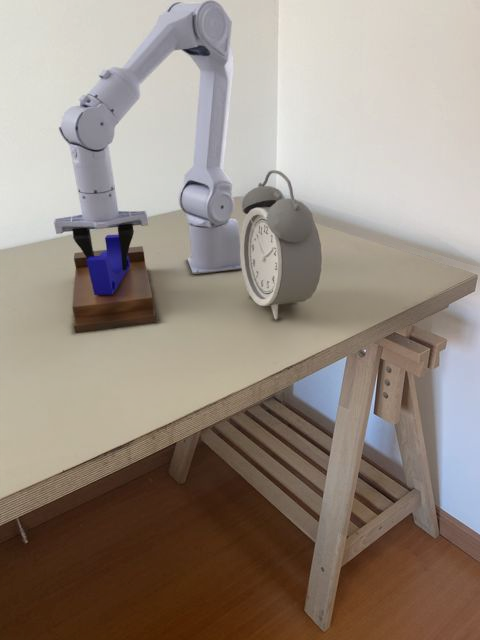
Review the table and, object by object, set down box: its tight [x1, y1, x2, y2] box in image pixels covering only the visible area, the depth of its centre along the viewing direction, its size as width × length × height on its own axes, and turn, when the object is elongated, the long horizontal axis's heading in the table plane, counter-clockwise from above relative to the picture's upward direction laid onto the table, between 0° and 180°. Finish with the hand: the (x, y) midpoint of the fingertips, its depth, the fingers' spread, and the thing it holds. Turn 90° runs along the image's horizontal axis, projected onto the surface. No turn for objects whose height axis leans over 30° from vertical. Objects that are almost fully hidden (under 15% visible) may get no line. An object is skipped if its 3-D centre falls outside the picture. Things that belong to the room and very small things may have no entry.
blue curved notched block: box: [86, 234, 130, 295], centre depth 95 cm, size 12×4×6 cm, turn 178°
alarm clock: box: [240, 169, 323, 320], centre depth 89 cm, size 16×9×22 cm, turn 23°
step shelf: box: [72, 245, 157, 333], centre depth 97 cm, size 12×23×5 cm, turn 14°
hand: (109, 269), depth 95 cm, fingers closed on blue curved notched block, 4 cm apart
